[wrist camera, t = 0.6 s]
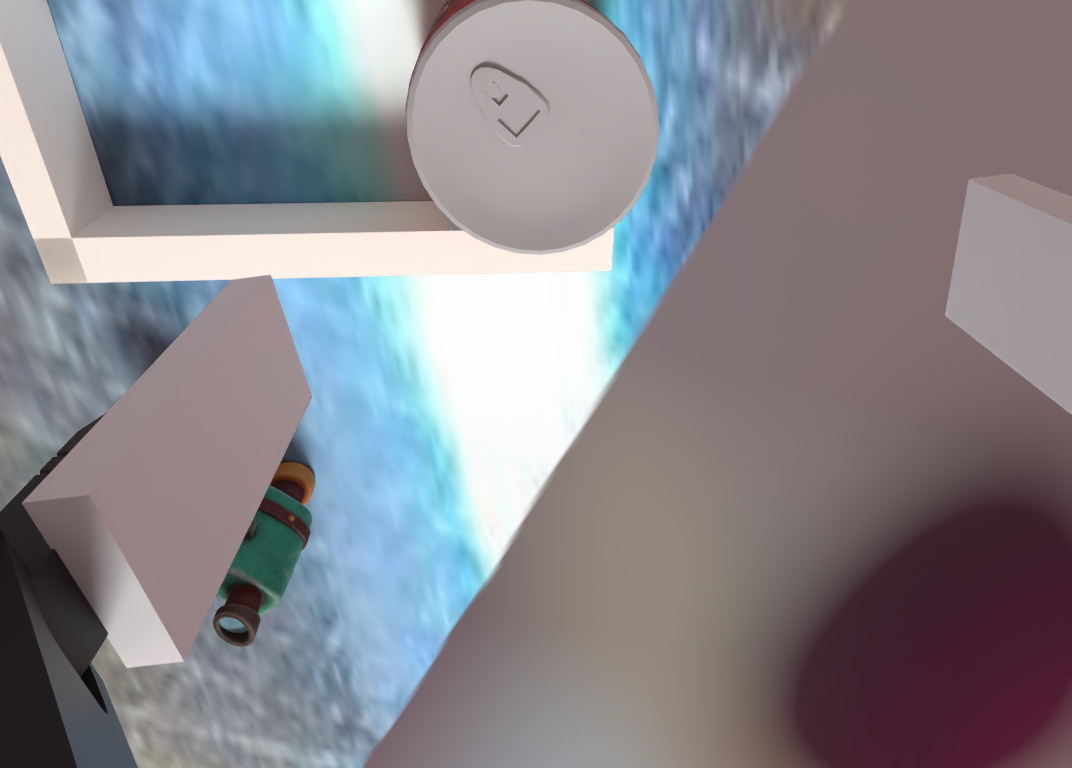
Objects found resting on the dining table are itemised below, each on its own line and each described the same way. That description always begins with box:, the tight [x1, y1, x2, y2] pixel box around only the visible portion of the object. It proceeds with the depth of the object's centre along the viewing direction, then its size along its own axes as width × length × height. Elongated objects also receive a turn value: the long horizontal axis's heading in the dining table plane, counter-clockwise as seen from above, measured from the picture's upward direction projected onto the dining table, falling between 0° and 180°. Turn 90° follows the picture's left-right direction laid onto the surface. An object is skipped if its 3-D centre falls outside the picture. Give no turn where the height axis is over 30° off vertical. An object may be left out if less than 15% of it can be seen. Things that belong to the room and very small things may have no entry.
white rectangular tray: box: [0, 0, 614, 284], centre depth 28 cm, size 15×24×4 cm, turn 89°
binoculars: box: [213, 462, 315, 647], centre depth 38 cm, size 9×11×10 cm
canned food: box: [406, 0, 659, 255], centre depth 26 cm, size 8×8×11 cm
